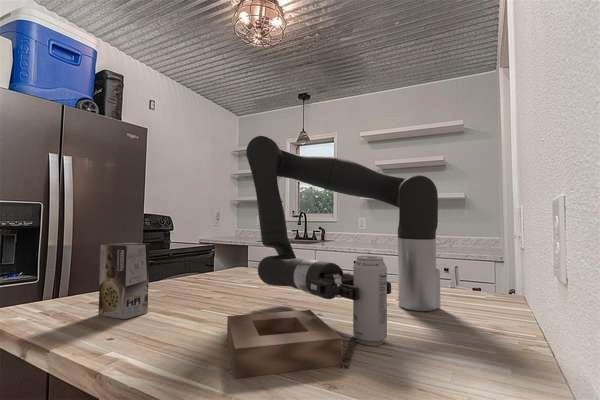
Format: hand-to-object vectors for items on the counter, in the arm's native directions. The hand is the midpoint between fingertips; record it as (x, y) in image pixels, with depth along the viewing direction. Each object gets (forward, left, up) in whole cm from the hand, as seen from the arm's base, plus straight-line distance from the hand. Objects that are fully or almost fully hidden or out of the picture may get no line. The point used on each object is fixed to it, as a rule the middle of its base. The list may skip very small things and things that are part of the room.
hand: (374, 291), depth 59 cm
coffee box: (+47, -31, -9) cm, 57 cm away
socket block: (+17, -1, -9) cm, 20 cm away
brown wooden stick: (+6, +3, -10) cm, 12 cm away
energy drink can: (0, -1, -9) cm, 9 cm away
